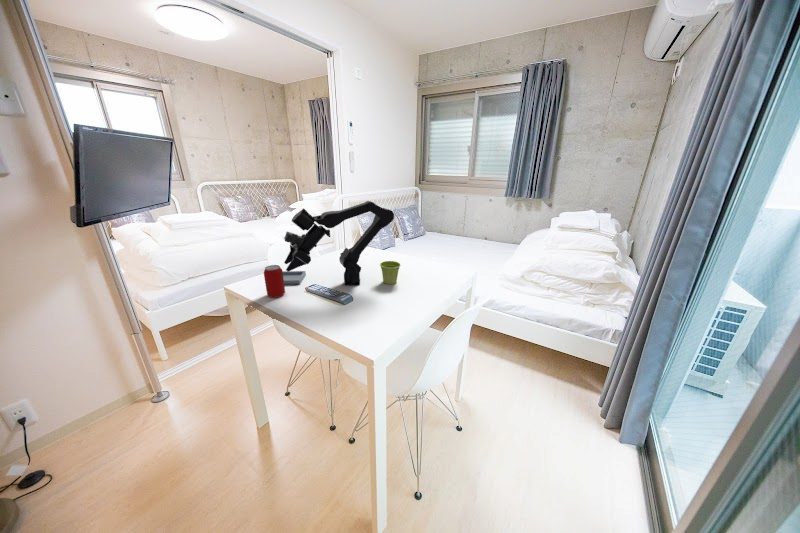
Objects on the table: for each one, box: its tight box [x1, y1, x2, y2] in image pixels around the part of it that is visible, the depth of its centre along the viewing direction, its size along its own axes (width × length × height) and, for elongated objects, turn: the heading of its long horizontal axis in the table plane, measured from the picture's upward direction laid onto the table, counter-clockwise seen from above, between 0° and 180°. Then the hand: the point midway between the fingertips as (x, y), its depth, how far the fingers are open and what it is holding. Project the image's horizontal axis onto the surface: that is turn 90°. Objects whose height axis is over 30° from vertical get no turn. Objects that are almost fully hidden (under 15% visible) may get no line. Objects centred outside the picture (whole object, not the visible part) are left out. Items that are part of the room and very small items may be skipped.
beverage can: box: [263, 264, 286, 298], centre depth 109 cm, size 7×7×12 cm
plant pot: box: [379, 260, 402, 285], centre depth 124 cm, size 9×9×9 cm
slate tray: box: [282, 270, 307, 286], centre depth 125 cm, size 12×12×2 cm
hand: (286, 267), depth 109 cm, fingers open, 9 cm apart
